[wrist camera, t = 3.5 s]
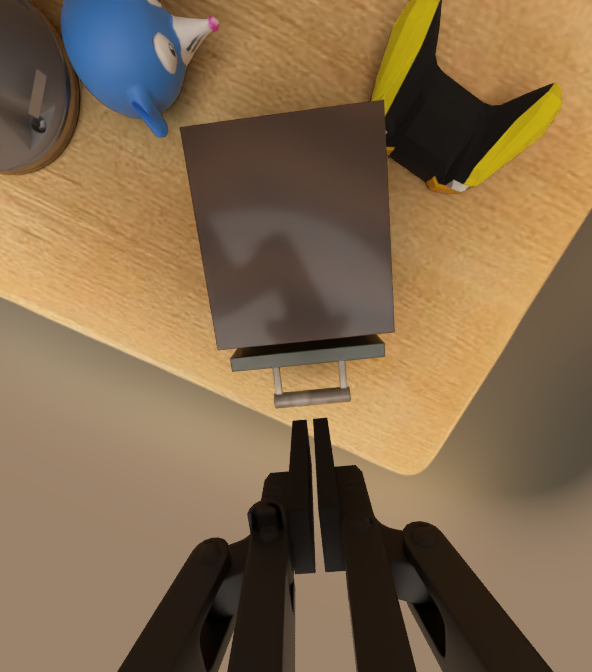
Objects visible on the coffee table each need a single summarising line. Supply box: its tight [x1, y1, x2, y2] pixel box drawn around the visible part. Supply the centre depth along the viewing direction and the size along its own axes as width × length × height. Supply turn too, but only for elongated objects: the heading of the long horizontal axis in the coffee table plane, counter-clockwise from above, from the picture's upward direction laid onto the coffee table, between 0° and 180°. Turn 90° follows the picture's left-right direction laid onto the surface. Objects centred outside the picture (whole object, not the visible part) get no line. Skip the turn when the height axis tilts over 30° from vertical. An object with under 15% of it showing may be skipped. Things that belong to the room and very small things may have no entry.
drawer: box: [230, 334, 385, 408], centre depth 30 cm, size 20×13×8 cm, turn 6°
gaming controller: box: [370, 0, 562, 194], centre depth 28 cm, size 15×6×10 cm
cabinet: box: [180, 99, 395, 350], centre depth 29 cm, size 16×14×10 cm
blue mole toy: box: [61, 0, 219, 138], centre depth 26 cm, size 12×12×8 cm
